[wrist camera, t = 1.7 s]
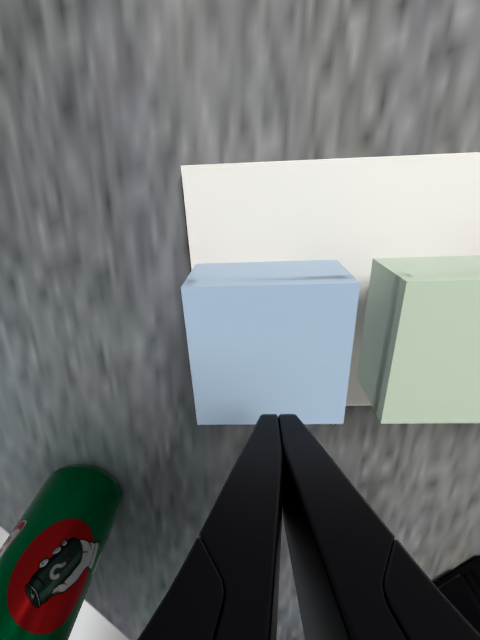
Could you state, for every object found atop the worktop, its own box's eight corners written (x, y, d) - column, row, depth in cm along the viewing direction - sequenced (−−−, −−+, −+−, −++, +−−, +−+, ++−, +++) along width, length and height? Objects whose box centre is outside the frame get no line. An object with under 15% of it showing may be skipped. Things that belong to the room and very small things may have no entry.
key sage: (520, 253, 11) (598, 276, 9) (481, 376, 14) (534, 422, 11) (372, 258, 12) (406, 281, 9) (356, 377, 14) (380, 423, 11)
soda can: (46, 454, 21) (-185, 768, 10) (124, 463, 21) (-17, 783, 10) (55, 506, 23) (-126, 812, 12) (126, 514, 23) (12, 825, 12)
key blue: (336, 259, 12) (360, 283, 9) (326, 378, 14) (343, 423, 11) (195, 263, 12) (180, 287, 9) (207, 379, 14) (197, 424, 12)
